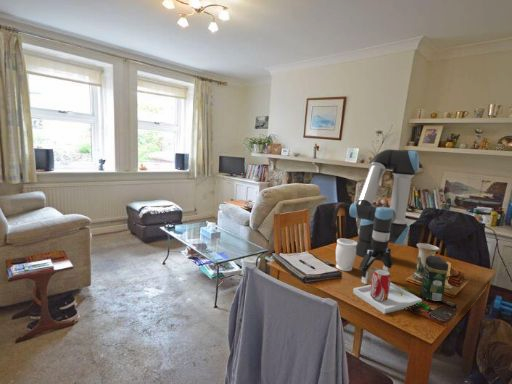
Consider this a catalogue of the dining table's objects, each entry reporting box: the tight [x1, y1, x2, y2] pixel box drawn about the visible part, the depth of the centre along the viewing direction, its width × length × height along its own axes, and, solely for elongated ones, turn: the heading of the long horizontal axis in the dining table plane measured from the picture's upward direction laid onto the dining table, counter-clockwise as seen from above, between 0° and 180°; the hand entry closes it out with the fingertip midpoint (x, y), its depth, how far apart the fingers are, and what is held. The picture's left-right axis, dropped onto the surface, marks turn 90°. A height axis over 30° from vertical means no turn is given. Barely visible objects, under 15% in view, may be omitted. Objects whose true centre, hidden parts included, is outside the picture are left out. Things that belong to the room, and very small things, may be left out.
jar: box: [335, 238, 357, 272], centre depth 152 cm, size 11×10×15 cm
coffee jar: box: [420, 255, 449, 302], centre depth 126 cm, size 10×8×19 cm
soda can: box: [370, 268, 391, 301], centre depth 121 cm, size 7×7×12 cm
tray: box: [352, 281, 423, 315], centre depth 124 cm, size 22×17×2 cm
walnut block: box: [367, 266, 379, 283], centre depth 139 cm, size 5×5×6 cm
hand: (374, 281), depth 140 cm, fingers open, 13 cm apart
